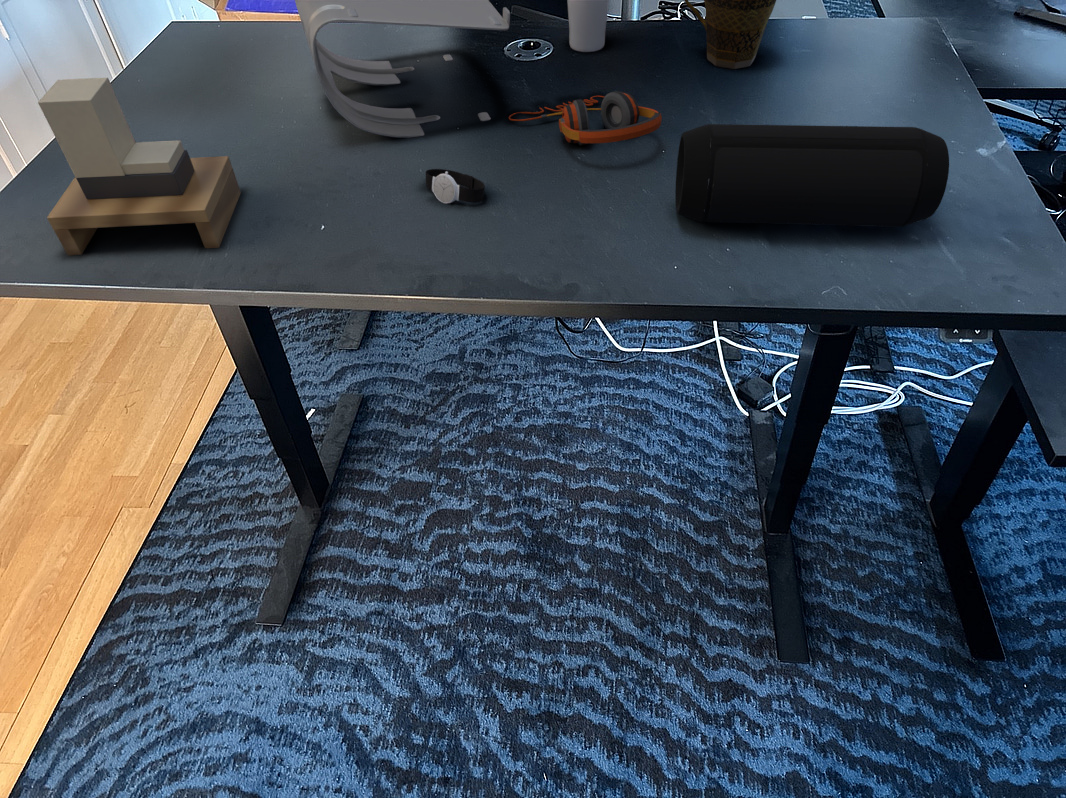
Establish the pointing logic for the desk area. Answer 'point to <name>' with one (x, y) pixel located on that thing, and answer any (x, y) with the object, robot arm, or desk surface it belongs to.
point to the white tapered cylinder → (587, 24)
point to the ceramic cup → (734, 30)
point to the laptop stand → (396, 4)
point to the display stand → (152, 207)
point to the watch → (454, 186)
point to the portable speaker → (810, 174)
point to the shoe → (110, 144)
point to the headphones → (616, 116)
